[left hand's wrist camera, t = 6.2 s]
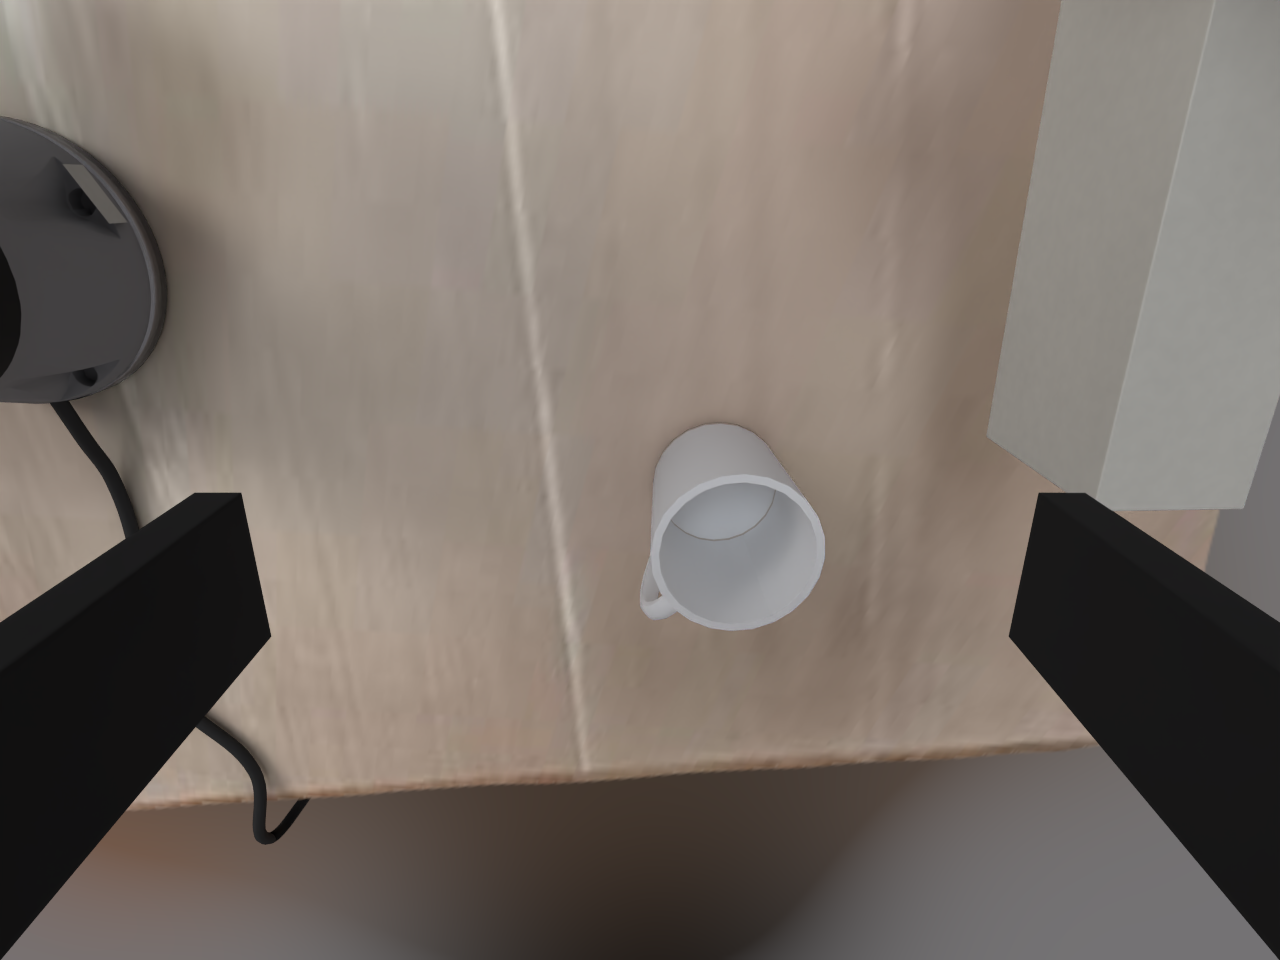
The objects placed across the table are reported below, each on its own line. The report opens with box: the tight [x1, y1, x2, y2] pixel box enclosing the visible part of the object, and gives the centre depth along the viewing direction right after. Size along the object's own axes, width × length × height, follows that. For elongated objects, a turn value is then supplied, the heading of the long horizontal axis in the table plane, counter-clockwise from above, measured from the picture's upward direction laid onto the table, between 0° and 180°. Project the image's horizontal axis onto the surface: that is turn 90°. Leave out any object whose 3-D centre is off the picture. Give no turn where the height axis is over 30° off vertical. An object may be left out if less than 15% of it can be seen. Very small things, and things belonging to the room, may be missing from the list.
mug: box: [640, 422, 825, 631], centre depth 43 cm, size 11×9×10 cm
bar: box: [986, 0, 1280, 511], centre depth 24 cm, size 26×5×8 cm, turn 1°
